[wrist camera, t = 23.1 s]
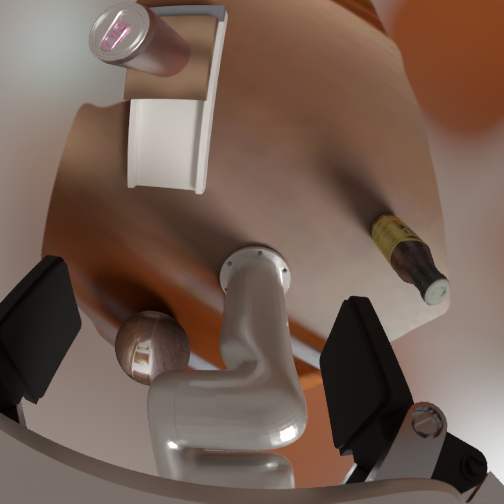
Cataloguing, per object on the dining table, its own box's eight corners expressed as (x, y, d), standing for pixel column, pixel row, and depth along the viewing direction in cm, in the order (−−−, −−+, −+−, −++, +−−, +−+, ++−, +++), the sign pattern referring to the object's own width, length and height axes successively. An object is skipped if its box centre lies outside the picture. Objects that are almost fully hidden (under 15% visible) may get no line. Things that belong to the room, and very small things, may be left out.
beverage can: (138, 64, 29) (75, 47, 15) (166, 29, 26) (117, -9, 13) (171, 86, 30) (119, 75, 17) (201, 50, 28) (166, 15, 15)
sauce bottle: (405, 226, 46) (465, 290, 29) (381, 250, 49) (431, 321, 31) (385, 203, 44) (448, 262, 27) (360, 228, 47) (410, 299, 29)
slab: (209, 101, 36) (203, 100, 31) (137, 99, 35) (123, 99, 31) (221, 25, 30) (216, 15, 26) (147, 26, 29) (135, 19, 25)
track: (205, 188, 44) (199, 198, 39) (134, 182, 43) (122, 191, 39) (228, 16, 30) (224, 5, 26) (151, 17, 30) (139, 8, 25)
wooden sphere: (186, 293, 54) (168, 351, 40) (202, 347, 61) (192, 402, 48) (119, 296, 54) (90, 347, 41) (142, 346, 62) (123, 396, 48)
